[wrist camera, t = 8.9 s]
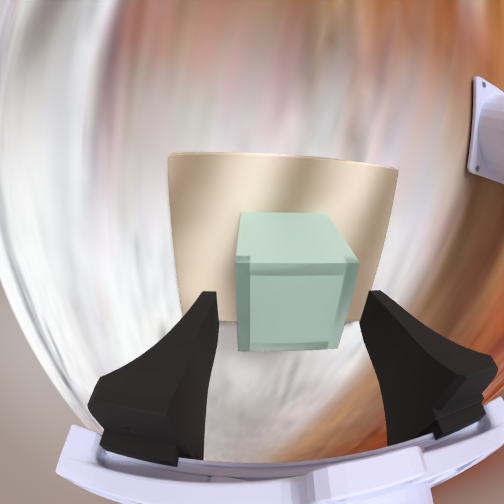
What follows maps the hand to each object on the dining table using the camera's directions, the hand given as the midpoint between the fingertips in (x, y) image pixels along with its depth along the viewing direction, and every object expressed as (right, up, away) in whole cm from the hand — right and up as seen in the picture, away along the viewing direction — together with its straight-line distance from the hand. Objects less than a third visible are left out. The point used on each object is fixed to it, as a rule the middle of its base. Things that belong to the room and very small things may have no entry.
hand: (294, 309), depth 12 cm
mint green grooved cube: (0, +3, +5) cm, 6 cm away
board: (0, +3, +6) cm, 7 cm away
